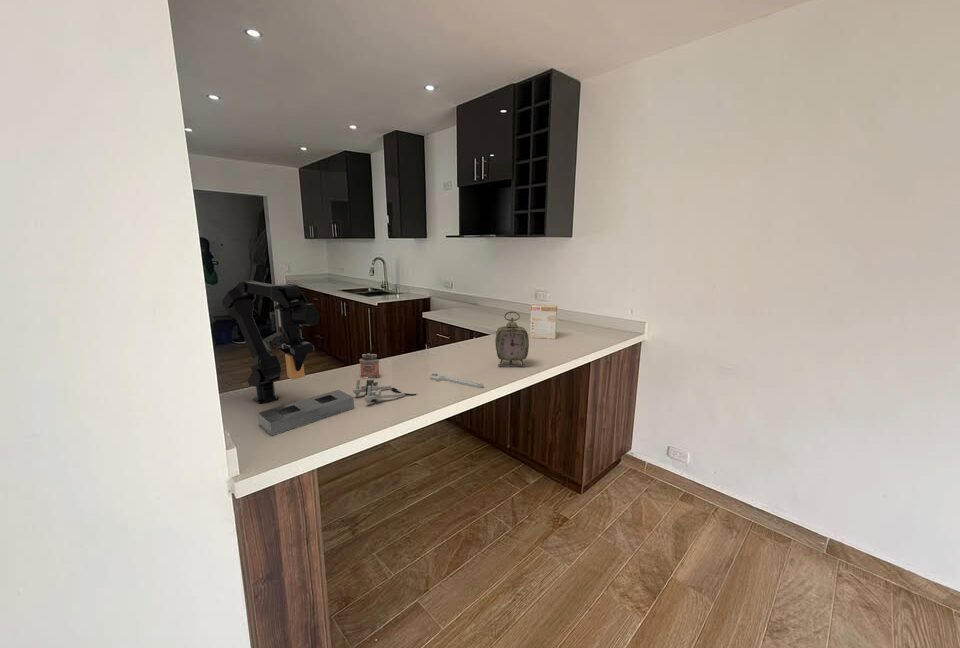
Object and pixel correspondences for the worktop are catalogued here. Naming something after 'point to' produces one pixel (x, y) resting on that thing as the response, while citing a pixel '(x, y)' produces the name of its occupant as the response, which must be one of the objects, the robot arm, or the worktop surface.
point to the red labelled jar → (369, 366)
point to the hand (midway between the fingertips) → (295, 369)
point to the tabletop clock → (512, 342)
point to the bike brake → (372, 391)
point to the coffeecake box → (543, 321)
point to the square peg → (293, 368)
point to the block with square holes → (304, 411)
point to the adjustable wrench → (455, 380)
